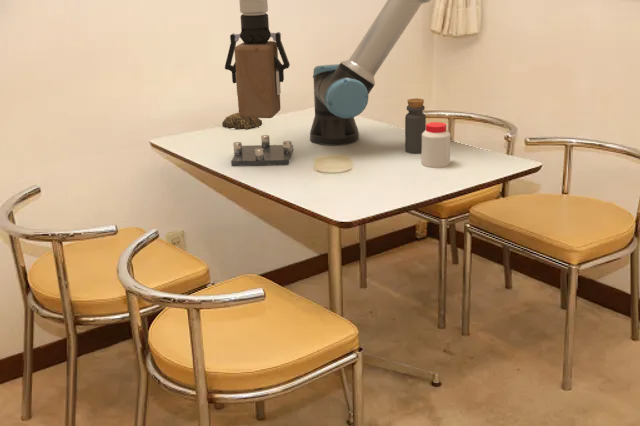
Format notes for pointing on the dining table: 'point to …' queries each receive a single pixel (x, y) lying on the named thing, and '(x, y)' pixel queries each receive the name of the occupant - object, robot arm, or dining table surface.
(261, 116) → the wooden block
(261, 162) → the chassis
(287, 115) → the dining table surface
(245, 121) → the brown rounded lump
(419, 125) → the bottle
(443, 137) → the pill bottle
